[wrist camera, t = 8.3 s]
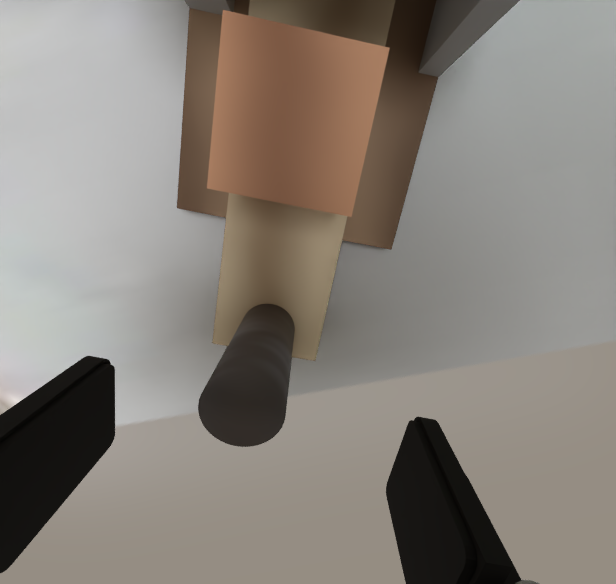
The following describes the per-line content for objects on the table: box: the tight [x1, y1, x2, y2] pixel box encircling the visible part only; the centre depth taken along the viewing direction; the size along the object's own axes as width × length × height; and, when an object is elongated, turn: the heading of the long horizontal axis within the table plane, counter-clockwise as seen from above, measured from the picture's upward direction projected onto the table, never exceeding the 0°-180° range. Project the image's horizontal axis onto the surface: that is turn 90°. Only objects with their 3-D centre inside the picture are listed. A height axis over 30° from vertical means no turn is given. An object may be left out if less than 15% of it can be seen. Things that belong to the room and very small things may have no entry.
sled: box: [198, 0, 395, 447], centre depth 12 cm, size 6×22×8 cm, turn 169°
